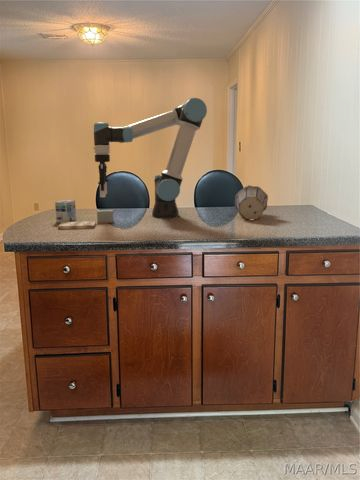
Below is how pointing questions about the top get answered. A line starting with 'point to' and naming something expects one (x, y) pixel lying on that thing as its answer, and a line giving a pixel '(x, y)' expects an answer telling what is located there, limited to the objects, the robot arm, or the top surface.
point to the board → (77, 225)
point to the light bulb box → (65, 211)
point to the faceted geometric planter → (251, 202)
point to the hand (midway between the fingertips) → (103, 195)
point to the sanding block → (104, 216)
